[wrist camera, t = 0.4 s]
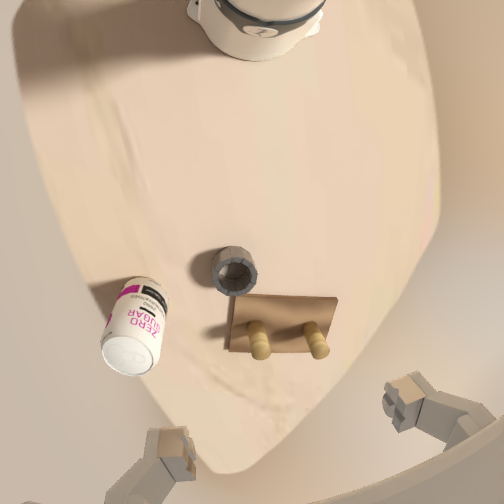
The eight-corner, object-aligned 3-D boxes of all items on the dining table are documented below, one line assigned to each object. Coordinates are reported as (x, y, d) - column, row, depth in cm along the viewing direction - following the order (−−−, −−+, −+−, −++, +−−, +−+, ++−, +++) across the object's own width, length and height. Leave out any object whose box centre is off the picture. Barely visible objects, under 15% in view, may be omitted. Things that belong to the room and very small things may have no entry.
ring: (214, 244, 48) (215, 255, 44) (255, 248, 49) (259, 258, 45) (211, 281, 50) (211, 294, 46) (250, 284, 51) (253, 297, 48)
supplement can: (122, 313, 51) (101, 374, 37) (121, 271, 47) (94, 327, 34) (167, 319, 52) (158, 383, 38) (170, 278, 49) (158, 337, 35)
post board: (235, 293, 52) (240, 321, 44) (336, 297, 55) (353, 323, 47) (228, 348, 56) (232, 379, 49) (319, 348, 59) (332, 376, 52)
